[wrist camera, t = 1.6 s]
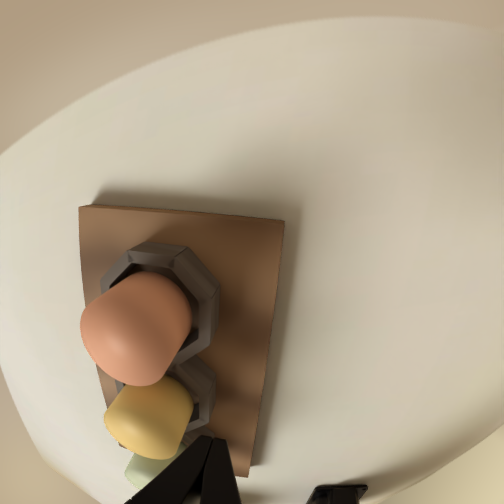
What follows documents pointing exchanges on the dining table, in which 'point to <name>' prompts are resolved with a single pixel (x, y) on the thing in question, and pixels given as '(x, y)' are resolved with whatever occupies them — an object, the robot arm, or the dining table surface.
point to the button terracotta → (137, 328)
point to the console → (198, 304)
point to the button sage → (148, 467)
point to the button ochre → (150, 417)
